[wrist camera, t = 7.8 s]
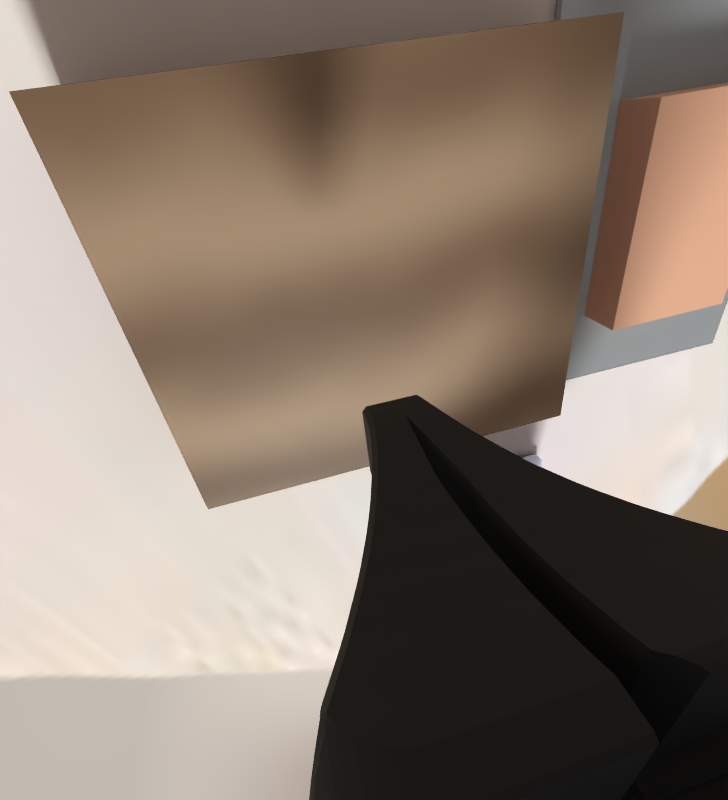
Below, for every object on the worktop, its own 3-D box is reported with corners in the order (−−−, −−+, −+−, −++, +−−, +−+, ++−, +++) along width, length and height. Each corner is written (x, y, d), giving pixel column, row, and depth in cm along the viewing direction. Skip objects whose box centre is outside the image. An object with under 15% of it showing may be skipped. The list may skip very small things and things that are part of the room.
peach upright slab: (612, 330, 20) (584, 315, 22) (721, 303, 21) (686, 291, 22) (661, 97, 15) (620, 100, 17) (802, 73, 16) (749, 78, 18)
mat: (707, 340, 25) (712, 342, 25) (521, 388, 24) (524, 391, 23) (840, -37, 16) (850, -40, 16) (557, -2, 15) (562, -4, 15)
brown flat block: (514, 374, 23) (560, 415, 20) (212, 449, 21) (208, 509, 18) (541, 37, 15) (624, 11, 12) (66, 101, 13) (9, 91, 10)
